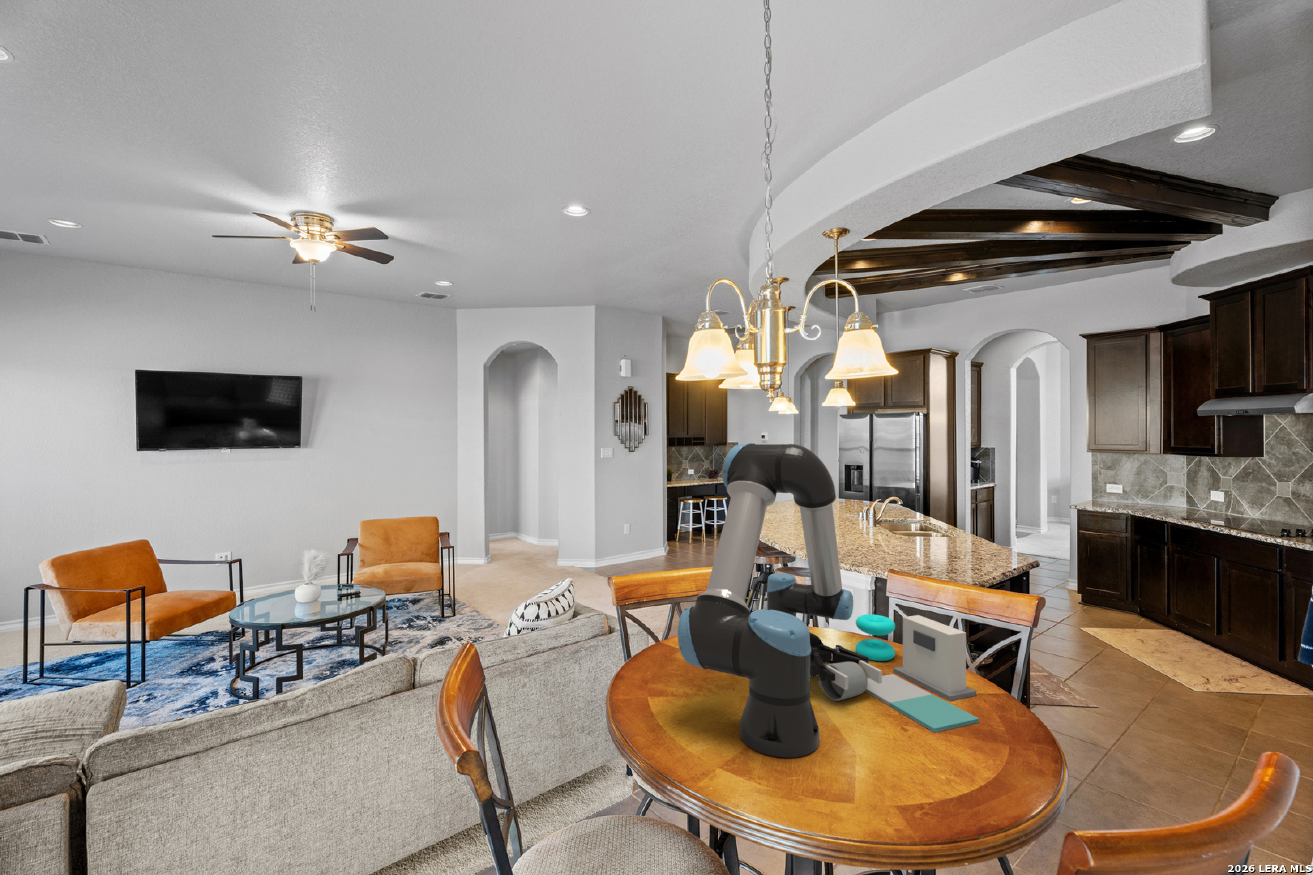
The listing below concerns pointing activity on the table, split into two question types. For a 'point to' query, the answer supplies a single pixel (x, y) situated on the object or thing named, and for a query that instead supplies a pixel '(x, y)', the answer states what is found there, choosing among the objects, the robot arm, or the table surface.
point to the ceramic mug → (855, 681)
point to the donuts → (875, 647)
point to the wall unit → (935, 657)
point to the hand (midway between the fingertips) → (863, 680)
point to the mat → (919, 704)
